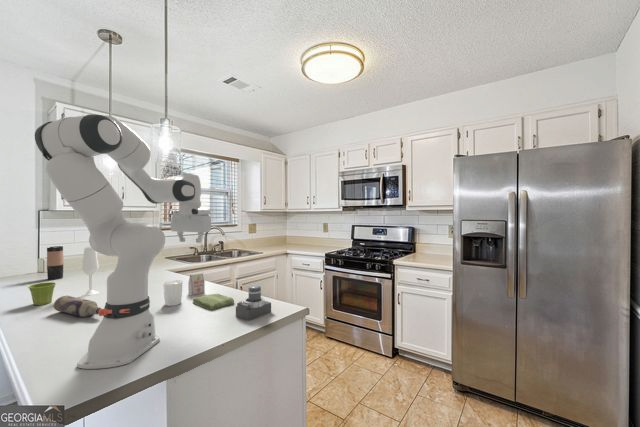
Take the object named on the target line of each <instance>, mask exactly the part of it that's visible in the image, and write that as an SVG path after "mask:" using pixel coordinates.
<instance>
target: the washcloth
mask: <svg viewBox="0 0 640 427" xmlns="http://www.w3.org/2000/svg"><path fill="white" fill-rule="evenodd" d="M192 304H193V305H196V306H199V307H201V308H204V309H207V310H211V311H212V310H216V309H219V308H222V307H227V306H230V305H233V304H235V300H234V298H233V297H231V296H227V295H224V294H221V293H212V294H205V295H204V294H203V295H202V296H199V297H198V296H197V297H196V296H195V297H193V298H192Z"/></svg>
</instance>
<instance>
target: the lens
mask: <svg viewBox="0 0 640 427" xmlns="http://www.w3.org/2000/svg"><path fill="white" fill-rule="evenodd" d="M247 293H248V297H249V302H258V301H261V297H262V287H261V286H260V285H252V286H249V287H248V292H247Z"/></svg>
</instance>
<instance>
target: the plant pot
mask: <svg viewBox="0 0 640 427" xmlns="http://www.w3.org/2000/svg"><path fill="white" fill-rule="evenodd" d="M56 285H57V282H54V281H50V282H40V283H35V284H31V285H28V286H27V288H28V289H29V292H30V294H31V299H32V304H33V305H34V306H42V305H47V304H50V303H52V301H53V295H54V292H55V291H54V289H55V287H56Z"/></svg>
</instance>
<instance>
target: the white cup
mask: <svg viewBox="0 0 640 427" xmlns="http://www.w3.org/2000/svg"><path fill="white" fill-rule="evenodd" d="M162 286H163V298H164V305H165V306H166V307H167V306H168V307H174V306H179V305H181V304H182V296H183V280H181V279H174V280H173V279H172V280H167V281H164V282H163V284H162Z"/></svg>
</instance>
